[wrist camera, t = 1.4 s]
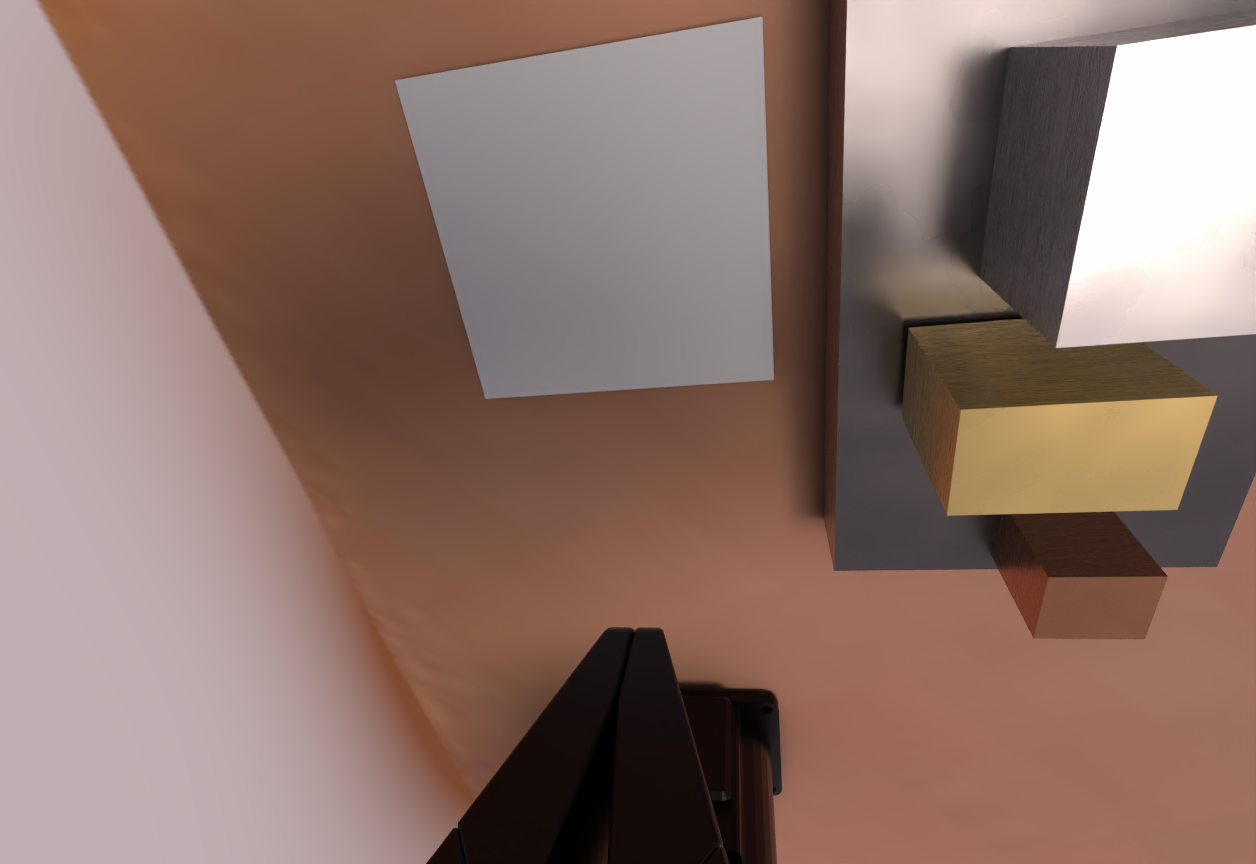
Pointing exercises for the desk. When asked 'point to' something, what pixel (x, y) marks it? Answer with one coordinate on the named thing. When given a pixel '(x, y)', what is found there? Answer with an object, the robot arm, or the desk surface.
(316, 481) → the desk surface
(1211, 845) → the desk surface
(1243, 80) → the light grey block
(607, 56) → the felt mat
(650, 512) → the desk surface
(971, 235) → the dark grey base plate
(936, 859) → the desk surface
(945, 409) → the block
